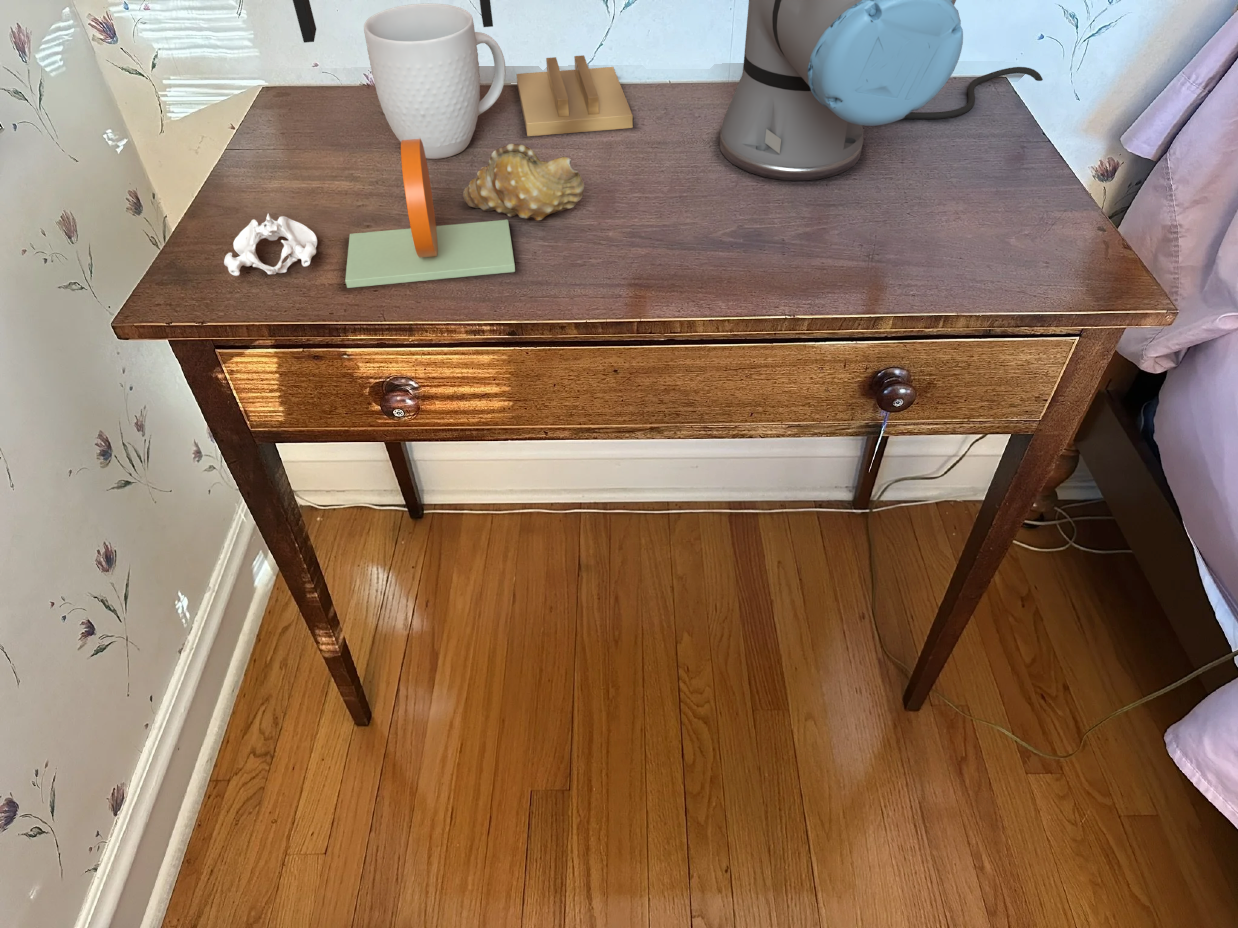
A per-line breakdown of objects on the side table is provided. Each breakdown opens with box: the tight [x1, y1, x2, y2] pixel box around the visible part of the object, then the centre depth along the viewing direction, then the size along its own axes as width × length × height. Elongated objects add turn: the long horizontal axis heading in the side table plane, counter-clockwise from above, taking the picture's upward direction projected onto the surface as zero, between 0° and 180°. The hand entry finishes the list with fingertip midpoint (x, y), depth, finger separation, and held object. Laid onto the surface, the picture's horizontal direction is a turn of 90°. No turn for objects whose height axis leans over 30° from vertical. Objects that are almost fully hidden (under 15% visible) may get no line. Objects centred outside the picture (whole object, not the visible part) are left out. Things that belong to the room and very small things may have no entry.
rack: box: [515, 55, 634, 137], centre depth 105 cm, size 12×14×4 cm
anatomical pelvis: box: [223, 213, 318, 277], centre depth 81 cm, size 8×4×7 cm
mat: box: [344, 219, 516, 289], centre depth 83 cm, size 15×8×1 cm, turn 99°
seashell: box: [462, 143, 585, 221], centre depth 86 cm, size 9×8×10 cm
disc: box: [400, 139, 438, 258], centre depth 79 cm, size 2×10×10 cm, turn 9°
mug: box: [363, 2, 507, 160], centre depth 95 cm, size 15×11×13 cm
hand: (399, 29), depth 70 cm, fingers open, 13 cm apart
